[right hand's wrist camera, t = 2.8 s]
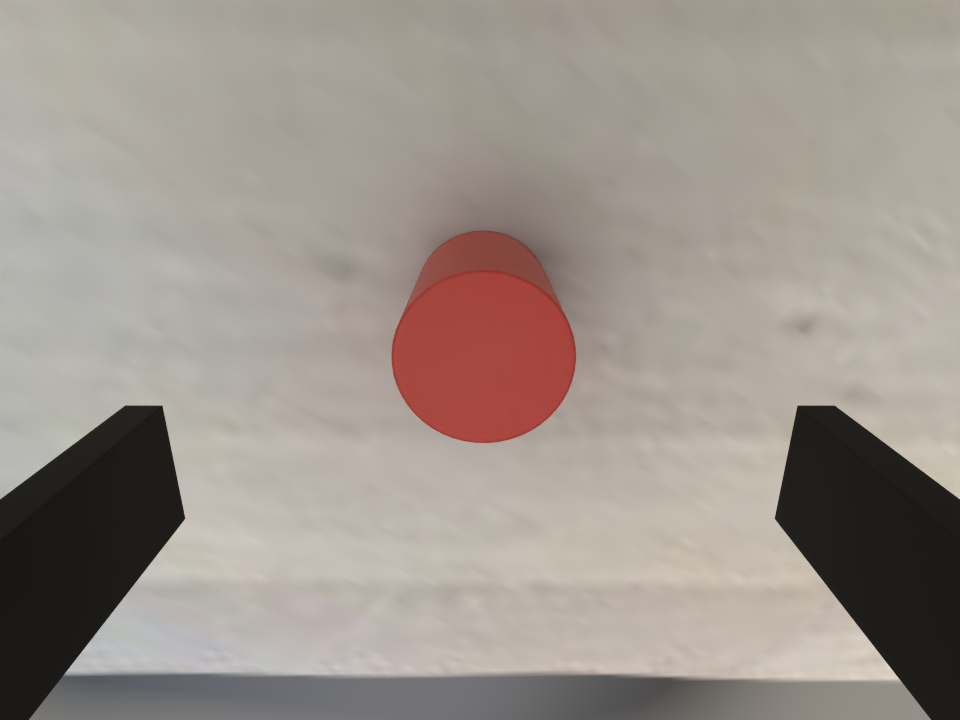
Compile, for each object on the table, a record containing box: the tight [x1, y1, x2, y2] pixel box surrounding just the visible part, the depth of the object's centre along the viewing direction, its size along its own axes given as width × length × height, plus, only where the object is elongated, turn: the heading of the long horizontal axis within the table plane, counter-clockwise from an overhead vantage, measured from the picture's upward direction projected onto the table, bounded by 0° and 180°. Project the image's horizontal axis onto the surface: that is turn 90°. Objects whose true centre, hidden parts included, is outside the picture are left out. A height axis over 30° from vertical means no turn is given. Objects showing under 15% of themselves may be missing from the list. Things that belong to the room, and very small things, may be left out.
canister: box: [392, 231, 576, 443], centre depth 22 cm, size 6×6×8 cm
